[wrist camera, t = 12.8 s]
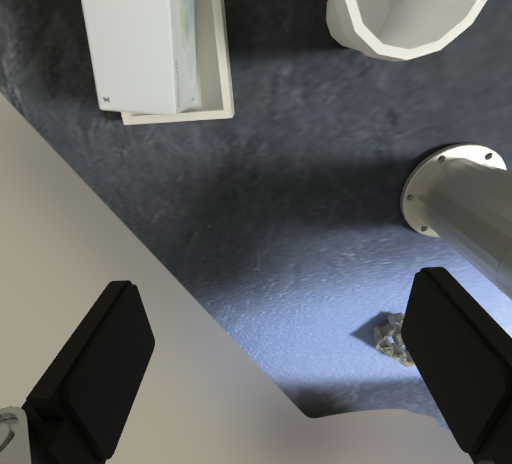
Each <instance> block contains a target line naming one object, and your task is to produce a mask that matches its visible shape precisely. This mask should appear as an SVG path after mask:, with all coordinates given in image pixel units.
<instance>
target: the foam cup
mask: <svg viewBox="0 0 512 464" xmlns="http://www.w3.org/2000/svg"><path fill="white" fill-rule="evenodd" d="M486 1H487V0H328V1H327V10H326V23H327V25H328V28H329V31H330V34H331V36H332V37H333V38H334V39H335V40H336V41H337V42H338V43H339V44H340V45H342V46H345V47H348V48H352V49H355V50H359V51H362V52H363V53H364V54H365V55H366V56H369V57H374V58H379V59H384V60H389V61H404V60H410V59H413V58H416V57H419V56H423V55H426V54H429V53H432V52H435V51H439V50H441V49H442V48H443V47H445V46H446V45H447V44H448V43H449V42H451V41H452V40H453V39H454V38H456V37H457V36H458V35H459V34H460V33H462V32H463V31H464V30H465V29H466V28H468V27H469V26H470V25H471V24H472V23H473V22H474V20H475V18H476V17H477V15H478V14H479V12H480V11H481V9H482V7H483V6H484V4H485V3H486Z"/></svg>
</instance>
